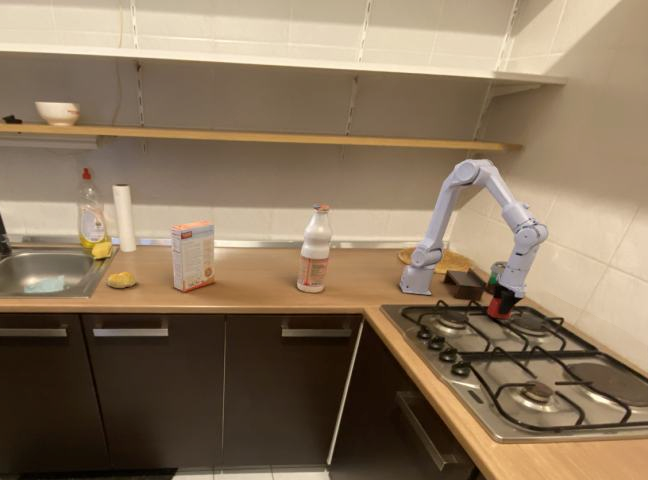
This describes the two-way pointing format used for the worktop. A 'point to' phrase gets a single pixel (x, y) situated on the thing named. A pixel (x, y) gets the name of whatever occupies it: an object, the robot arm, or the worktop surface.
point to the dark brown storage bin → (466, 284)
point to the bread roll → (121, 280)
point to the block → (496, 309)
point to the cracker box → (193, 255)
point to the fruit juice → (315, 251)
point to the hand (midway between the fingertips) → (499, 310)
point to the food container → (495, 274)
